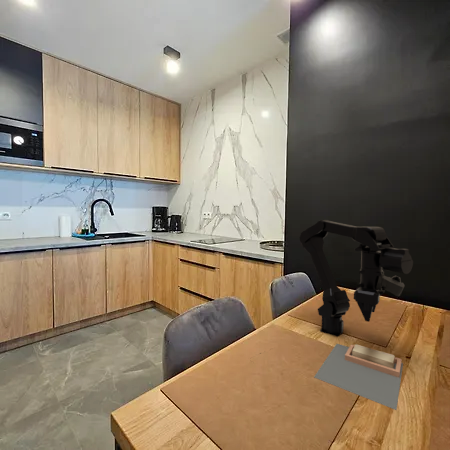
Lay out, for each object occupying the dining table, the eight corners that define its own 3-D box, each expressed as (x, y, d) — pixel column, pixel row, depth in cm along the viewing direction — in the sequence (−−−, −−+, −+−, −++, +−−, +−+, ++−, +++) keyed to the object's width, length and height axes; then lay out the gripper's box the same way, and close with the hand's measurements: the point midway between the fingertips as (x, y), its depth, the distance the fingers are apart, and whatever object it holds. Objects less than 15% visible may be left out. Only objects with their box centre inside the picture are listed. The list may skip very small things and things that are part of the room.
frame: (344, 359, 75) (344, 355, 75) (350, 348, 81) (351, 344, 81) (399, 377, 67) (399, 372, 66) (401, 363, 73) (401, 359, 73)
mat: (313, 378, 67) (313, 377, 67) (336, 344, 84) (336, 343, 84) (396, 411, 56) (396, 409, 56) (403, 364, 73) (403, 363, 73)
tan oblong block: (394, 364, 72) (394, 355, 72) (392, 372, 69) (392, 362, 69) (355, 352, 79) (355, 344, 78) (352, 359, 75) (352, 350, 75)
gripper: (400, 277, 67) (398, 335, 68) (404, 265, 82) (403, 313, 82) (353, 271, 74) (352, 323, 74) (365, 261, 88) (364, 305, 89)
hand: (370, 316), depth 80 cm, fingers open, 9 cm apart
